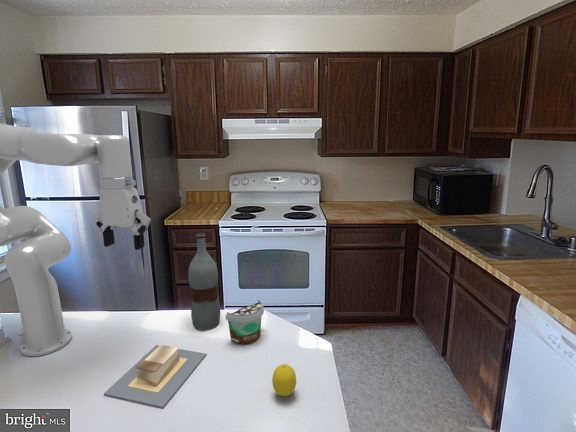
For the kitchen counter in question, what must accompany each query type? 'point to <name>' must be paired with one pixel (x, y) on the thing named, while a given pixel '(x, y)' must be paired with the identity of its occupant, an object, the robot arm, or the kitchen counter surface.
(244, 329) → the food container
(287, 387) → the lemon
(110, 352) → the kitchen counter surface
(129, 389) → the mat
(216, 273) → the bottle
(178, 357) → the birch block
